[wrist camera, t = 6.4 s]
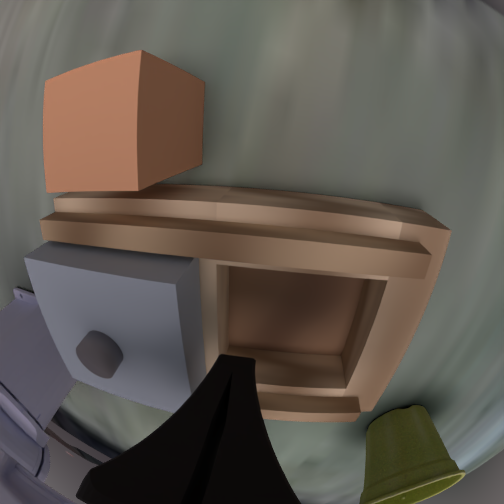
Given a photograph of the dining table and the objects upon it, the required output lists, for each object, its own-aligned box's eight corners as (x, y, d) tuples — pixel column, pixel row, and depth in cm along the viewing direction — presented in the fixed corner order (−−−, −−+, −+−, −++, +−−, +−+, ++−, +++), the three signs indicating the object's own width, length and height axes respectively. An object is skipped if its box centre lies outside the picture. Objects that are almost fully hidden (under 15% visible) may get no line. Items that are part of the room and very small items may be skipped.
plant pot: (413, 379, 17) (441, 474, 9) (455, 404, 18) (477, 473, 10) (328, 432, 20) (330, 515, 12) (384, 448, 22) (392, 512, 14)
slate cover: (91, 352, 15) (64, 388, 12) (56, 236, 11) (9, 266, 8) (207, 382, 14) (190, 433, 11) (198, 252, 11) (163, 302, 7)
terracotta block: (129, 165, 13) (46, 192, 7) (130, 90, 11) (45, 81, 6) (202, 164, 12) (138, 190, 7) (205, 82, 11) (141, 50, 5)
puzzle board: (120, 345, 18) (95, 383, 15) (88, 184, 13) (37, 205, 10) (364, 377, 17) (373, 425, 13) (422, 210, 12) (466, 241, 8)
